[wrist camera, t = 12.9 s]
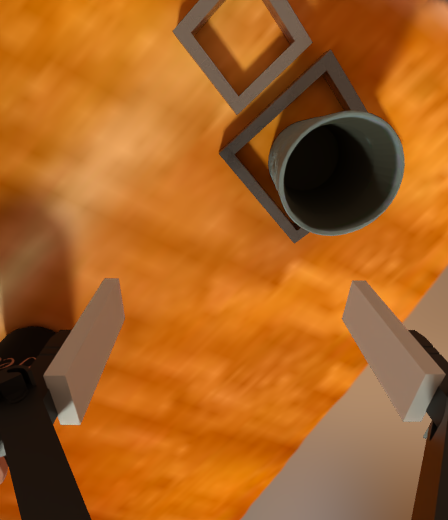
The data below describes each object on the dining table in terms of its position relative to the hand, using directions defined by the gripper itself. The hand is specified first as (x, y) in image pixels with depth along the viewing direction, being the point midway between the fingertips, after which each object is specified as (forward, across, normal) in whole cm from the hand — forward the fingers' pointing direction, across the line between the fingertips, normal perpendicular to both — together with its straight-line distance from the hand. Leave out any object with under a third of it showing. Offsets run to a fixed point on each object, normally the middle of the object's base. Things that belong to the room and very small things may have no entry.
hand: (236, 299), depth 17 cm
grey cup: (+22, +10, +5) cm, 25 cm away
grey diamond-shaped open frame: (+23, +1, +16) cm, 27 cm away
